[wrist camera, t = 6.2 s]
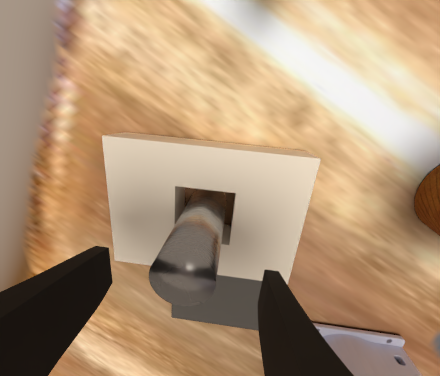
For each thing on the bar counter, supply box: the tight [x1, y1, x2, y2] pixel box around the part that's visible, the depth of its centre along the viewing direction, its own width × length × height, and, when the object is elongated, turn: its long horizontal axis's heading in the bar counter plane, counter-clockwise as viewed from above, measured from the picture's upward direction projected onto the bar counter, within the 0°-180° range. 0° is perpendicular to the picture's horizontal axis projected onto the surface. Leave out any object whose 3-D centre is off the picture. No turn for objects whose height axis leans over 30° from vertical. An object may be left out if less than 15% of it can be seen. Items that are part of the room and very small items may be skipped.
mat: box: [172, 275, 262, 330], centre depth 21 cm, size 10×8×1 cm
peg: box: [149, 189, 227, 306], centre depth 13 cm, size 3×3×9 cm
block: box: [102, 132, 321, 284], centre depth 16 cm, size 14×10×3 cm
